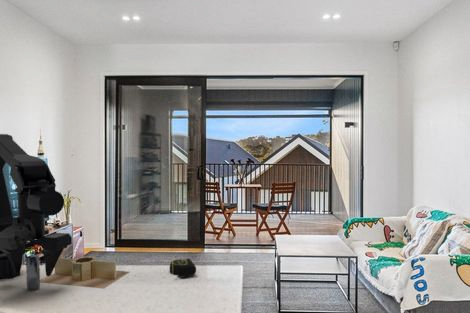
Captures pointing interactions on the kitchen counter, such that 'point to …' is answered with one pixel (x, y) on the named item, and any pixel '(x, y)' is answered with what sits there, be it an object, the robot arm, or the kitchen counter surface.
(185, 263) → the tape measure
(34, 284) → the hinge pin
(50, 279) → the walnut board
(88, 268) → the brass hinge
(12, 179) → the robot arm
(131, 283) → the kitchen counter surface
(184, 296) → the kitchen counter surface
